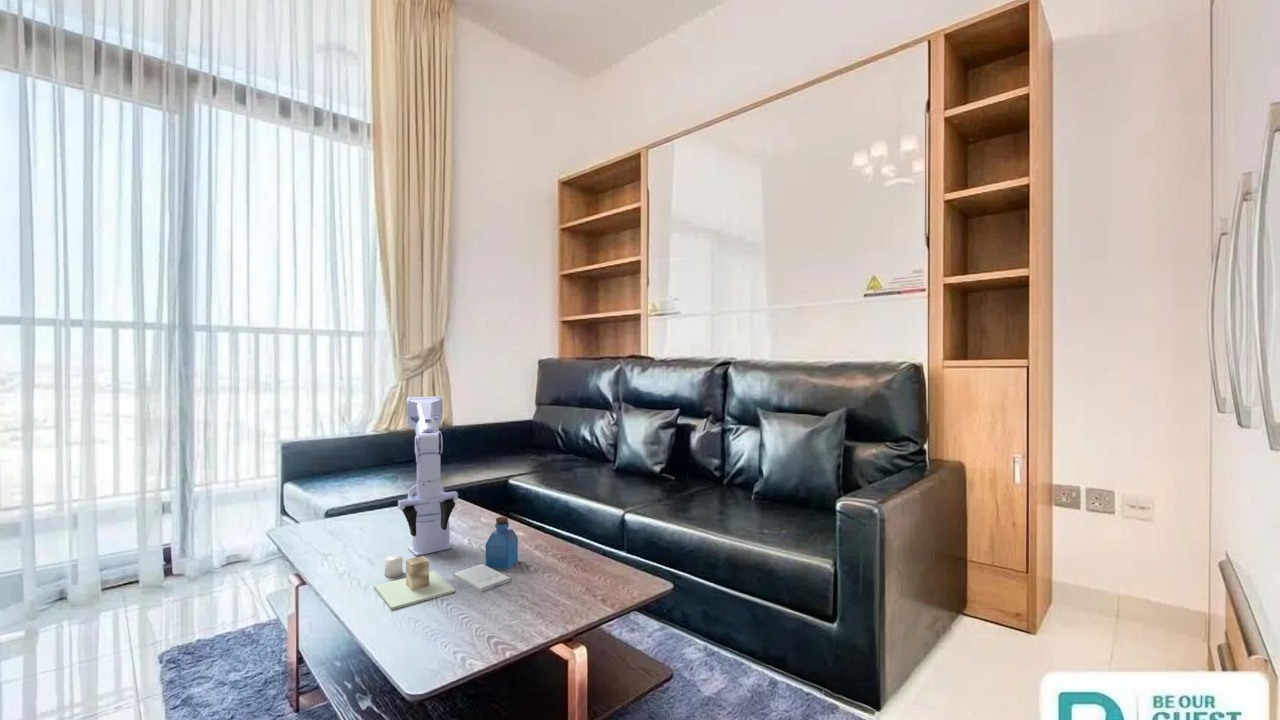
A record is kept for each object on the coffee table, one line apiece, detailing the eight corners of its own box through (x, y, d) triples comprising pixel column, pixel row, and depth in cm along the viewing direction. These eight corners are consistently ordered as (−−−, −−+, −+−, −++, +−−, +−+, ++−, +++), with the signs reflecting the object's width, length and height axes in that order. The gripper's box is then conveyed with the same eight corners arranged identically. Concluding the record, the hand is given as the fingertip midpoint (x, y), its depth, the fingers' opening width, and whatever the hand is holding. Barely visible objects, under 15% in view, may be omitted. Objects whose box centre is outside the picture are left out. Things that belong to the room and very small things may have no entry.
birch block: (423, 580, 132) (423, 555, 132) (429, 585, 129) (429, 560, 129) (406, 584, 130) (406, 559, 129) (411, 590, 126) (411, 564, 126)
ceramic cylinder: (399, 569, 140) (399, 554, 140) (404, 574, 137) (404, 558, 137) (382, 573, 138) (382, 557, 137) (388, 578, 135) (388, 562, 135)
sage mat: (434, 573, 138) (434, 570, 138) (455, 592, 127) (455, 589, 127) (374, 588, 129) (374, 585, 129) (391, 610, 118) (391, 607, 118)
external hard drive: (483, 569, 142) (510, 583, 134) (453, 579, 136) (480, 594, 127) (483, 563, 142) (510, 576, 133) (453, 572, 136) (481, 587, 127)
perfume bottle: (485, 567, 142) (485, 521, 142) (495, 558, 148) (495, 514, 148) (508, 569, 141) (508, 523, 140) (517, 560, 147) (517, 515, 147)
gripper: (403, 486, 133) (404, 542, 133) (462, 478, 142) (462, 530, 142) (395, 481, 138) (395, 534, 139) (452, 473, 148) (452, 523, 148)
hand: (428, 532), depth 141 cm, fingers open, 7 cm apart
